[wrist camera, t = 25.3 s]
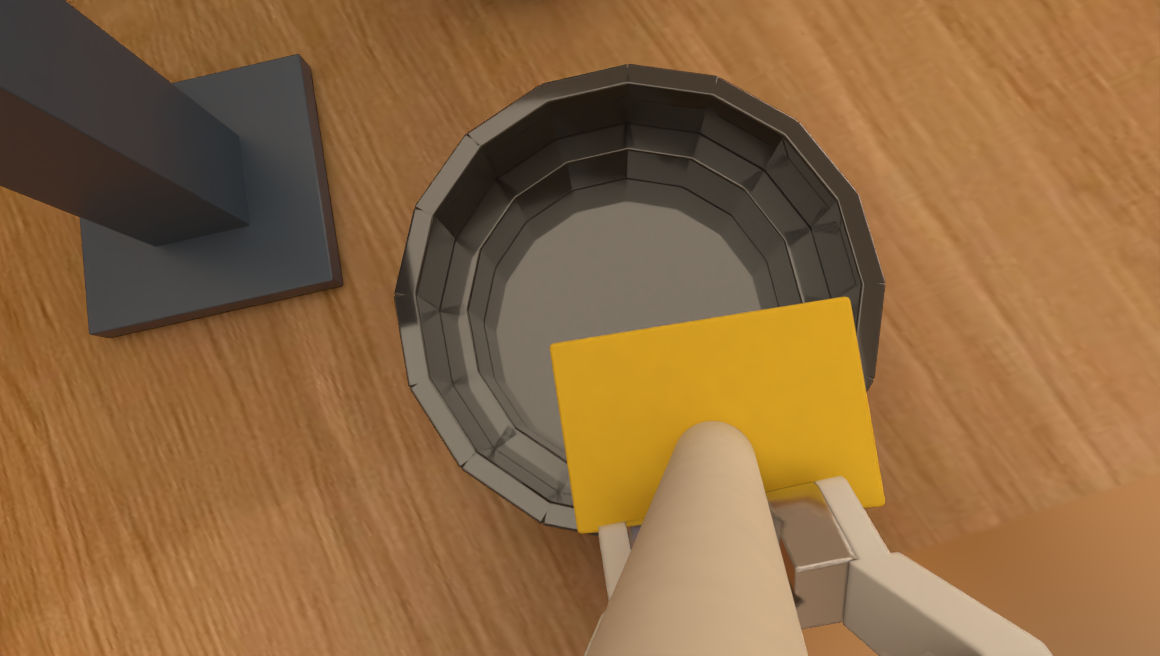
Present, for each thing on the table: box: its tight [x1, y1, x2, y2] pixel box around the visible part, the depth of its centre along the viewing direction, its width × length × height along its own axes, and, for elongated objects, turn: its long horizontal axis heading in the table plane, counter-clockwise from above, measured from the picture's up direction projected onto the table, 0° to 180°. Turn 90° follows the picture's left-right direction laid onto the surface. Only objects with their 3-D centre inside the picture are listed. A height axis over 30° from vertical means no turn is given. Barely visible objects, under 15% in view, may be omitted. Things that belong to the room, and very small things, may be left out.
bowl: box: [394, 64, 885, 537], centre depth 22 cm, size 14×14×6 cm
